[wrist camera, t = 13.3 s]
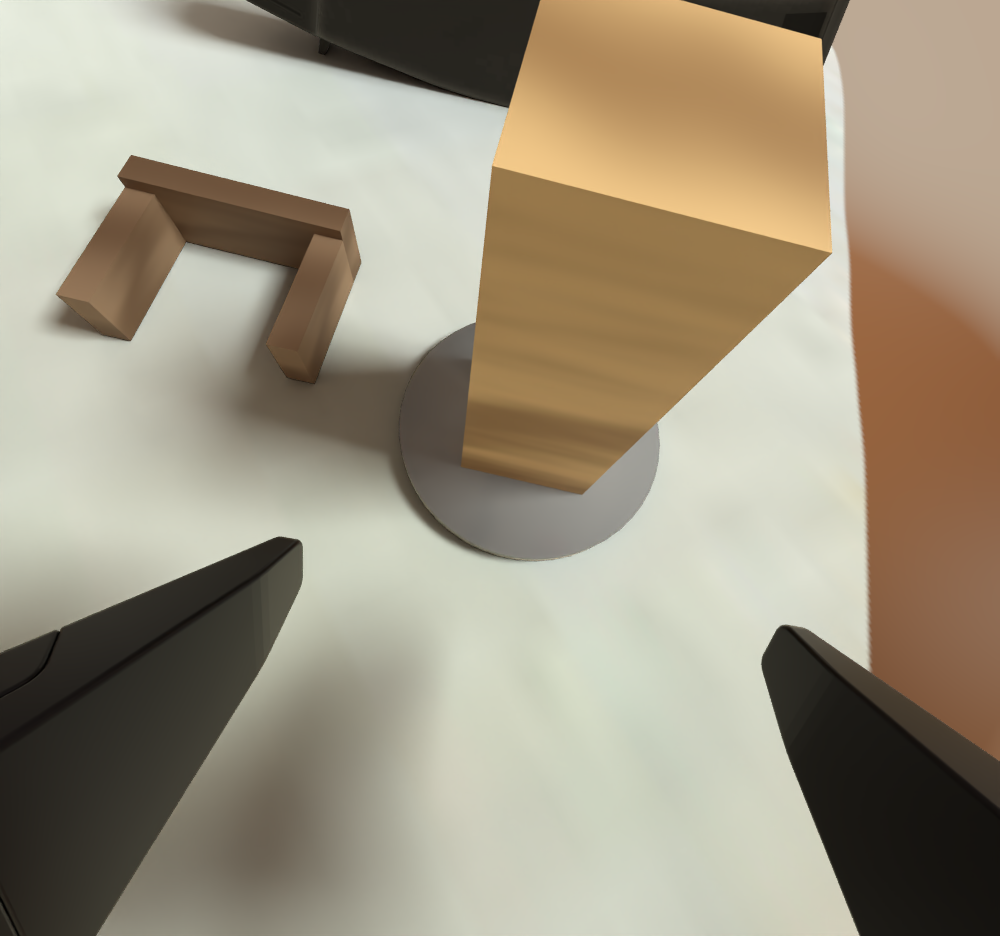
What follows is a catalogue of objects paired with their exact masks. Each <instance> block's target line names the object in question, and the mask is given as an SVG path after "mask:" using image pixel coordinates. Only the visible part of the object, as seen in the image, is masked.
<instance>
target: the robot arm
mask: <svg viewBox="0 0 1000 936" xmlns="http://www.w3.org/2000/svg"><path fill="white" fill-rule="evenodd" d="M302 579H303V546H302V542H301V541H300V540H298V539H292V538H287V537H276V538H273V539H271V540H268V541H266V542H263V543H261V544H259V545H256V546H254V547H252V548H249V549H247V550H244V551H242V552H240V553H237V554H235V555H233V556H230V557H228V558H225V559H223V560H221V561H218V562H216V563H214V564H211V565H209V566H206V567H204V568H202V569H199V570H197V571H195V572H192V573H190V574H187V575H185V576H183V577H180V578H178V579H176V580H173V581H171V582H169V583H166V584H164V585H161V586H159V587H157V588H154V589H152V590H149V591H147V592H145V593H142V594H140V595H138V596H135V597H133V598H130V599H128V600H126V601H123V602H121V603H119V604H116V605H114V606H111V607H109V608H107V609H104V610H102V611H100V612H97V613H95V614H92V615H90V616H88V617H85V618H83V619H81V620H78V621H76V622H73V623H71V624H69V625H66V626H64V627H62V628H61V630H60V632H59V631H58V630H54V631H52V632H49V633H47V634H45V635H42V636H40V637H38V638H35V639H33V640H30V641H28V642H26V643H23V644H21V645H18V646H16V647H13V648H11V649H8V650H6V651H4V652H1V653H0V936H96V935H97V933H98V932H99V930H100V928H101V927H102V925H103V924H104V922H105V920H106V919H107V917H108V916H109V914H110V912H111V911H112V909H113V907H114V906H115V904H116V903H117V901H118V899H119V898H120V896H121V895H122V893H123V891H124V890H125V888H126V886H127V885H128V883H129V882H130V880H131V878H132V877H133V875H134V874H135V872H136V870H137V869H138V867H139V865H140V864H141V862H142V861H143V859H144V857H145V856H146V854H147V852H148V851H149V849H150V848H151V846H152V844H153V843H154V841H155V840H156V838H157V836H158V835H159V833H160V831H161V830H162V828H163V827H164V825H165V823H166V822H167V820H168V819H169V817H170V815H171V814H172V812H173V810H174V809H175V807H176V806H177V804H178V802H179V801H180V799H181V798H182V796H183V794H184V793H185V791H186V789H187V788H188V786H189V785H190V783H191V781H192V780H193V778H194V777H195V775H196V773H197V772H198V770H199V768H200V767H201V765H202V764H203V762H204V760H205V759H206V757H207V756H208V754H209V752H210V751H211V749H212V747H213V746H214V744H215V743H216V741H217V739H218V738H219V736H220V734H221V733H222V731H223V730H224V728H225V726H226V725H227V723H228V722H229V720H230V718H231V717H232V715H233V713H234V712H235V710H236V709H237V707H238V705H239V704H240V702H241V701H242V699H243V697H244V696H245V694H246V692H247V691H248V689H249V688H250V686H251V684H252V683H253V681H254V680H255V678H256V676H257V675H258V673H259V671H260V669H261V668H262V666H263V664H264V663H265V661H266V659H267V657H268V655H269V653H270V651H271V649H272V647H273V644H274V642H275V640H276V638H277V636H278V634H279V632H280V630H281V628H282V626H283V623H284V621H285V619H286V617H287V615H288V613H289V611H290V609H291V607H292V604H293V602H294V600H295V598H296V596H297V594H298V592H299V590H300V587H301V584H302ZM761 665H762V671H763V675H764V678H765V682H766V685H767V688H768V692H769V695H770V699H771V702H772V705H773V709H774V712H775V716H776V719H777V722H778V726H779V729H780V733H781V736H782V739H783V742H784V745H785V748H786V752H787V754H788V757H789V760H790V762H791V765H792V768H793V770H794V773H795V775H796V778H797V780H798V783H799V785H800V788H801V790H802V793H803V795H804V798H805V800H806V803H807V805H808V808H809V810H810V813H811V815H812V818H813V820H814V823H815V825H816V828H817V830H818V833H819V835H820V838H821V840H822V843H823V845H824V848H825V850H826V853H827V855H828V858H829V860H830V863H831V865H832V868H833V870H834V873H835V875H836V878H837V880H838V883H839V885H840V888H841V891H842V893H843V896H844V898H845V901H846V903H847V906H848V908H849V911H850V913H851V916H852V918H853V921H854V923H855V926H856V928H857V931H858V933H859V936H1000V761H998V760H997V759H996V758H994V757H993V756H991V755H990V754H988V753H987V752H985V751H984V750H982V749H981V748H980V747H978V746H976V745H975V744H973V743H972V742H971V741H969V740H968V739H966V738H965V737H963V736H962V735H961V734H959V733H958V732H956V731H955V730H953V729H952V728H950V727H949V726H947V725H946V724H945V723H943V722H942V721H940V720H939V719H937V718H936V717H934V716H933V715H931V714H930V713H928V712H927V711H926V710H924V709H923V708H921V707H920V706H918V705H917V704H915V703H914V702H913V701H911V700H910V699H908V698H906V697H905V696H904V695H902V694H901V693H899V692H898V691H896V690H895V689H894V688H892V687H891V686H889V685H888V684H886V683H885V682H883V681H882V680H881V679H879V678H877V677H876V676H875V675H873V674H872V673H870V672H869V671H867V670H866V669H865V668H863V667H862V666H860V665H859V664H857V663H856V662H854V661H853V660H851V659H850V658H849V657H847V656H846V655H844V654H843V653H841V652H840V651H838V650H837V649H835V648H834V647H832V646H831V645H830V644H828V643H827V642H825V641H824V640H822V639H821V638H819V637H818V636H816V635H815V634H814V633H812V632H811V631H809V630H808V629H805V628H803V627H797V626H791V625H781V626H780V627H779V628H778V629H777V630H776V632H775V634H774V635H773V637H772V639H771V641H770V643H769V645H768V647H767V648H766V650H765V652H764V654H763V656H762V662H761Z"/></svg>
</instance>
